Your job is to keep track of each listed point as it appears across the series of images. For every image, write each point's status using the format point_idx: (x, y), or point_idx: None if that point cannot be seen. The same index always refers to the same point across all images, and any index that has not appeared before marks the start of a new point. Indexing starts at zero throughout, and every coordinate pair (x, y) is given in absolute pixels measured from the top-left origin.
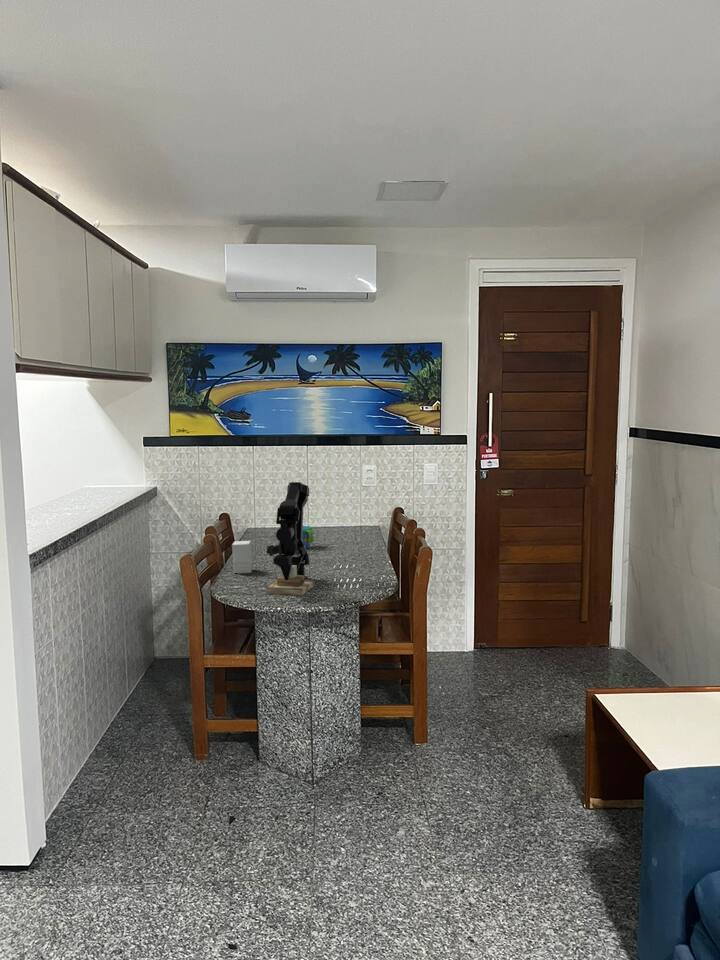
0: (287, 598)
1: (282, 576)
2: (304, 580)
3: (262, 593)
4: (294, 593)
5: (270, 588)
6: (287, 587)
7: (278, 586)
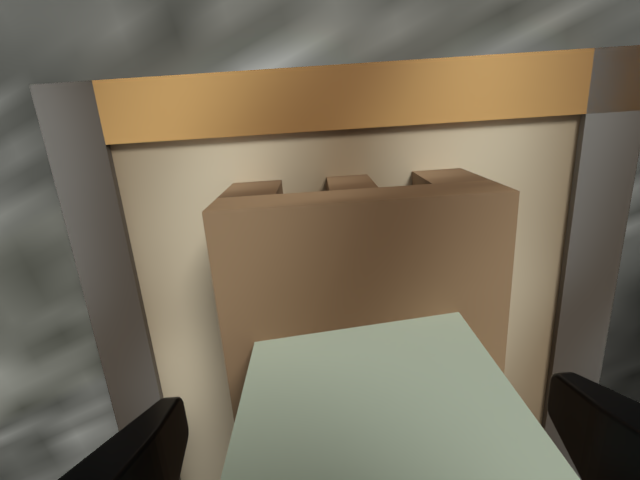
0: (18, 409)
1: (346, 272)
2: (548, 429)
3: (57, 24)
4: None
5: (53, 156)
6: (193, 361)
7: (198, 224)
